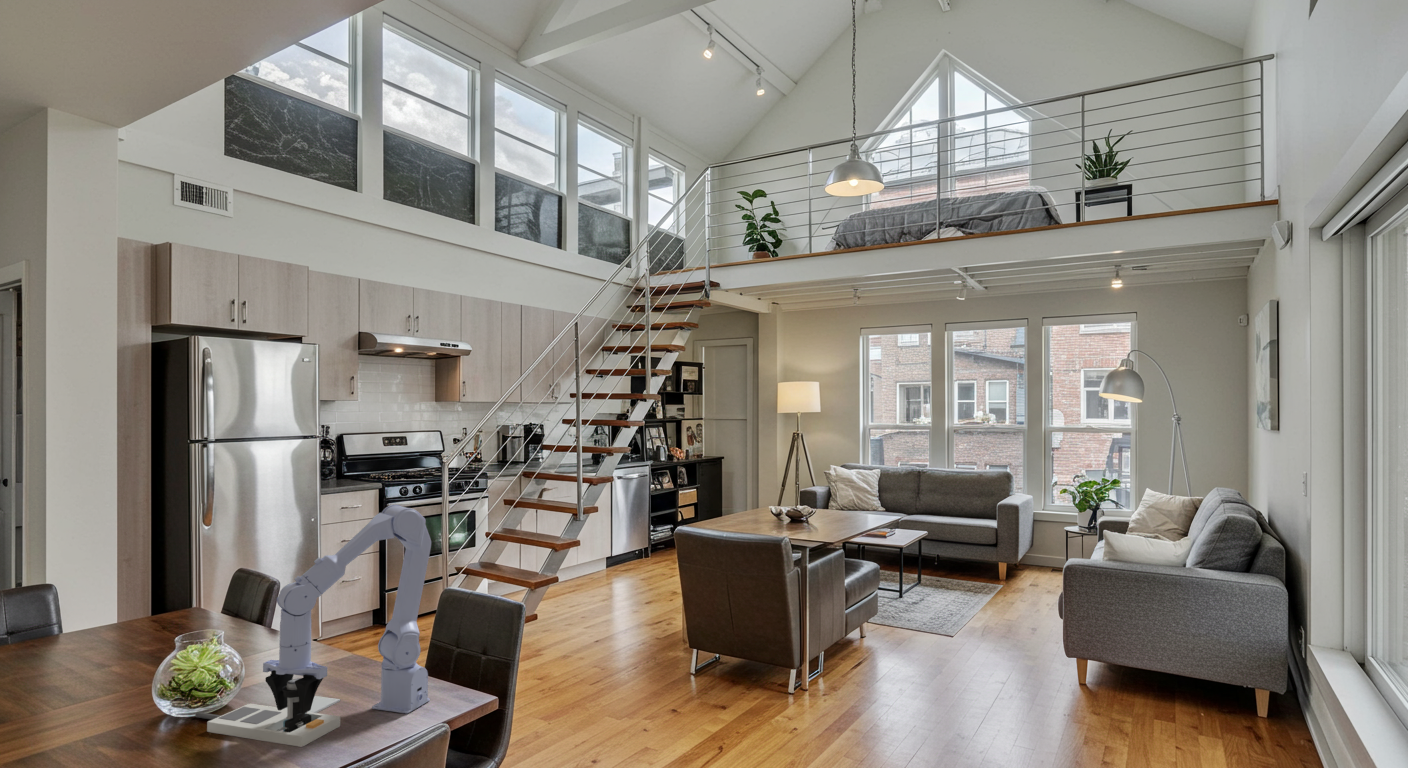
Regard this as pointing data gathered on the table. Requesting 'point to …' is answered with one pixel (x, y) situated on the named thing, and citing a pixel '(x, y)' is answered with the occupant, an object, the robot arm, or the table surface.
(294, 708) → the push button
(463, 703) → the table surface
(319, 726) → the white compartment tray
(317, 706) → the mat
